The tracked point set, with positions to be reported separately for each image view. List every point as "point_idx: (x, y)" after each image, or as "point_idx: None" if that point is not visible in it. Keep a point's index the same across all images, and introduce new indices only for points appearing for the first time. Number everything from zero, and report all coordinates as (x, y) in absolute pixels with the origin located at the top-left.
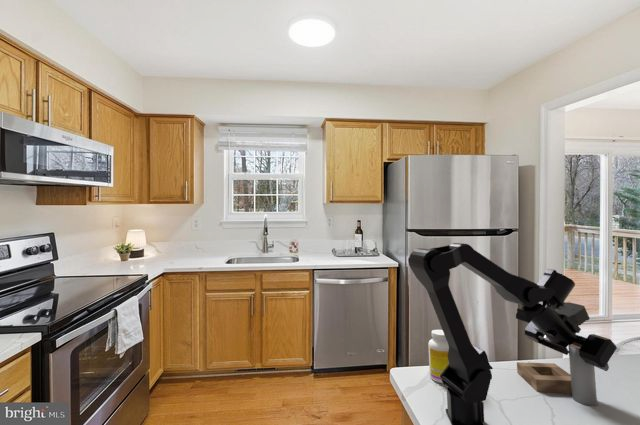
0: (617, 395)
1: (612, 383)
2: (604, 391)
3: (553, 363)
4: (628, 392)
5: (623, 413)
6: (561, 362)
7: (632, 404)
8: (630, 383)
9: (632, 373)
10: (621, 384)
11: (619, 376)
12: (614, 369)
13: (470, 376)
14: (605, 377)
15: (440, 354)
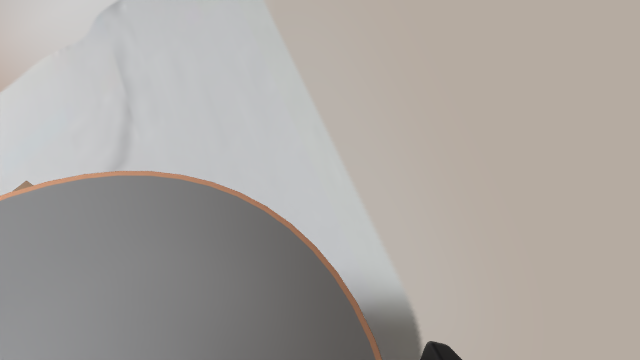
0: (305, 189)
1: (256, 110)
2: (266, 195)
3: (20, 186)
4: (313, 136)
5: (389, 332)
6: (64, 76)
7: (363, 217)
8: (288, 71)
9: (263, 10)
10: (276, 97)
11: (249, 49)
12: (221, 15)
13: None
14: (224, 84)
15: None
